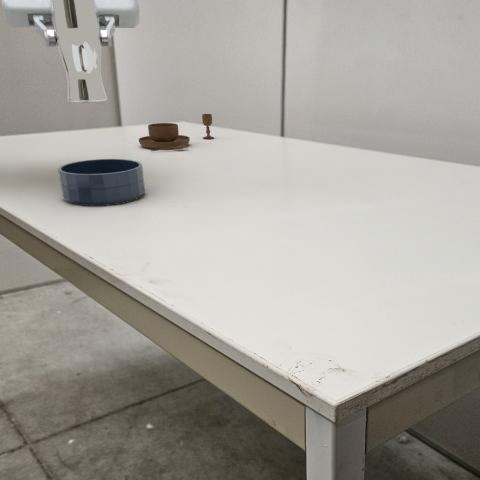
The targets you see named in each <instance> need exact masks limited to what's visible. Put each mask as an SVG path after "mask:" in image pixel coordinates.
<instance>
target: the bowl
mask: <svg viewBox="0 0 480 480" xmlns="http://www.w3.org/2000/svg"><path fill="white" fill-rule="evenodd" d="M57 174H58V179H59V185H60V190H61V197H63V199H64V200H66V201H68V202H69V203H71V204H75V205H80V206H90V205H99V206H108V205H107V204H113V205H118V204H117V203H120V204H124V203H123V202H125V203H128V202H127V201H129V202H132V201H131V200H133V201H135V200H134V199H136V198H138V197H139V198H141V197H142V195H144V194H145V192H146V184H145V176H144V175H145V174H144V168H143V163H142V162H140V161H138V160H137V161H136V160H134V159H126V158H125V159H124V158H96V159H86V160H79V161H73V162H69V163H65V164H63V165H60V166H59V167H58V168H57ZM140 196H141V197H140ZM139 198H138V199H139ZM136 200H137V199H136Z"/></svg>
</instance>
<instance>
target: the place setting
mask: <svg viewBox="0 0 480 480" xmlns="http://www.w3.org/2000/svg"><path fill="white" fill-rule="evenodd" d="M201 119H202V124H203V126H205V129H206V130H205V133H206V136H203V137H202V139H204V140H214V139H215V137H214V136H211V130H210V126H212V124H213V114H212V113H202V114H201ZM147 130H148V135H147V136H141V137H139V138H138V143H139V144H140V146H142V147H143V148H146V149H150V152H155V151H157V152H158V151H163V150H173V149H174V150H182V149H186V148H188V144H190V142H191V138H190V136H188V135H182V134H179V124H178V123H173V122H157V123H149V124H148V125H147Z"/></svg>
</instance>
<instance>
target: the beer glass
mask: <svg viewBox="0 0 480 480" xmlns="http://www.w3.org/2000/svg"><path fill="white" fill-rule="evenodd" d="M49 1H50V13H51V21H52V27H51V28H52V30H53V32H54V35H55V40H56V47H57V50H58V54H59V56H60V60H61V62H62V65H63V68H64V72H65V75H66V76H65V77H66V82H67V89H66V91H67V92H66V98H67V102H68V103H69V102H70V103H101V102H106V101H108V96H107V92H106V89H105V86H104V83H103V76H102V42H101V30H102V28H100V22H99V16H98V11H97V6H96V2H95V0H49Z"/></svg>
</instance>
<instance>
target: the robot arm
mask: <svg viewBox="0 0 480 480" xmlns="http://www.w3.org/2000/svg"><path fill="white" fill-rule="evenodd" d="M95 2H96V6H97V11H98V16H99V22H100V28H101V47H113V45H112V44H113V41H112V40H113V39H112V37H113V36H114V34H115V33H116V29H135V28H137V27H138V25H139V23H140V6H139V2H138V0H95ZM0 5H1V10H2V14H3V15H2V16H3V19H4V22H5V23H6V24H7V25H8V26H10V27H12V28H34V30H35V32H36V33H37V34H38V35H39V36H41V38H43V40H44V42H45V47H46V48H47V47H57V44H56V40H55V35H54V32H53V29H48V28H52V21H51V13H50V1H49V0H0Z"/></svg>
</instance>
